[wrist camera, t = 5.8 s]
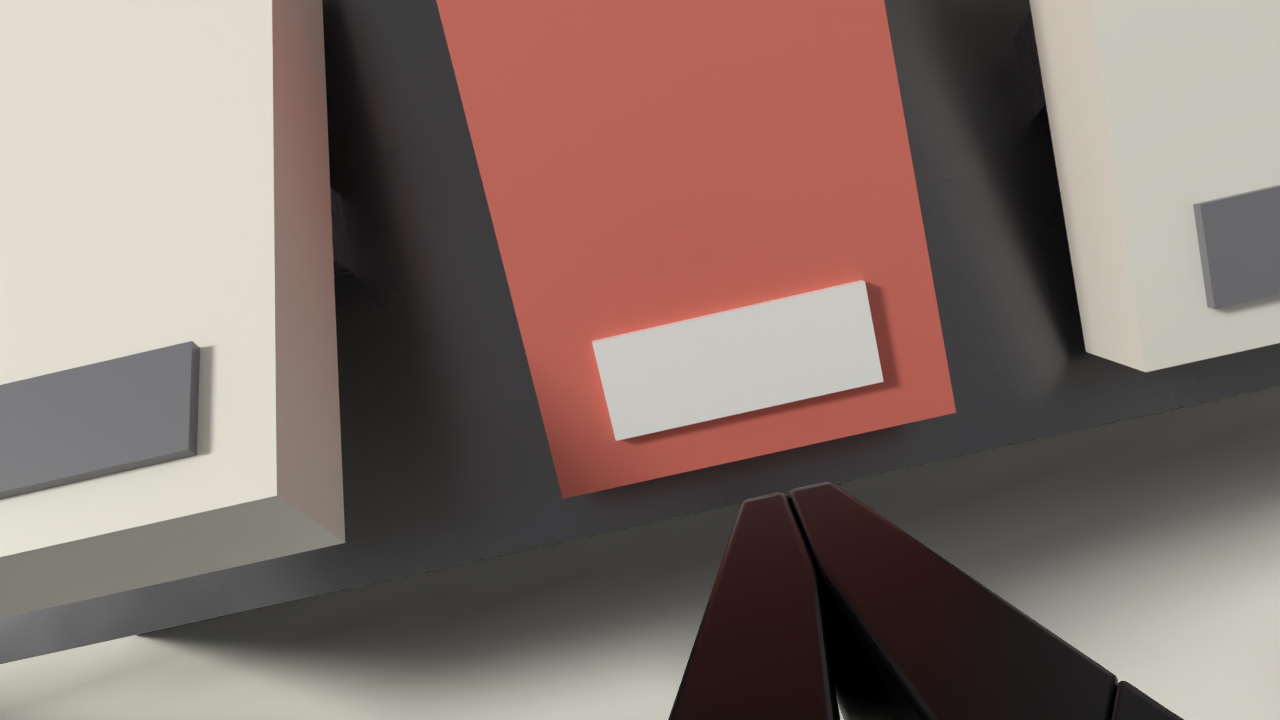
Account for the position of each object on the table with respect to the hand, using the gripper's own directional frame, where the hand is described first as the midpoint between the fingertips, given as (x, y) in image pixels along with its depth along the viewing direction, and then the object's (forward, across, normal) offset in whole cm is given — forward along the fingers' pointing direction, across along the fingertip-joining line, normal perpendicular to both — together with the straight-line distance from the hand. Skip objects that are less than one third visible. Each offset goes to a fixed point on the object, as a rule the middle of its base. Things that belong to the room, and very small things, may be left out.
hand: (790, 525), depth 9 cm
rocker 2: (+5, 0, +2) cm, 6 cm away
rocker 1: (+5, -7, +2) cm, 9 cm away
